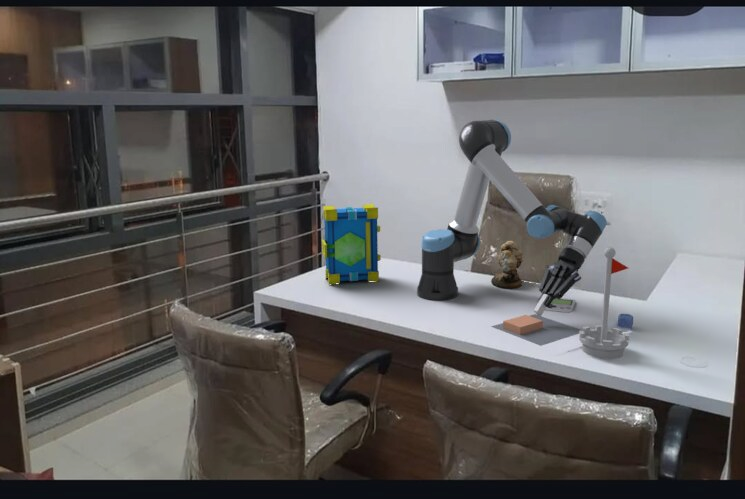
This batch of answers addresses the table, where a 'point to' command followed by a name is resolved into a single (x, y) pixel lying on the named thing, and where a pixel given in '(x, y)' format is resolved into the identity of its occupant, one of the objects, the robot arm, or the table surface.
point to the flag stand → (605, 321)
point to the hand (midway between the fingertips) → (537, 313)
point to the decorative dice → (625, 321)
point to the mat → (545, 331)
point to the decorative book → (351, 243)
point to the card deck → (522, 324)
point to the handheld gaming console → (561, 305)
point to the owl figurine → (508, 266)
